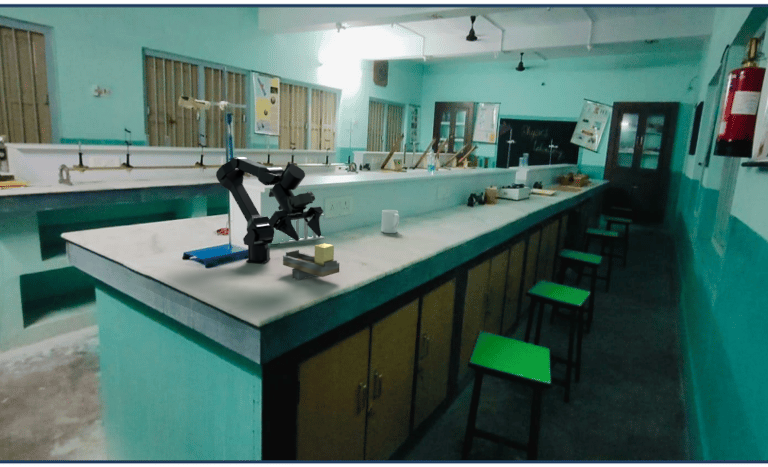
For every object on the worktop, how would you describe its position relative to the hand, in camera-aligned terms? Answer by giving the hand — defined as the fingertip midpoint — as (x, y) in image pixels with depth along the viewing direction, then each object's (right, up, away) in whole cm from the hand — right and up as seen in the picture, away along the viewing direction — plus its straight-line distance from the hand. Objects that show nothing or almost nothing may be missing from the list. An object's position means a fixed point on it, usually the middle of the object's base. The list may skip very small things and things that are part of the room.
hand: (309, 238), depth 139 cm
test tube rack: (-14, -2, +52) cm, 54 cm away
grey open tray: (0, -13, +2) cm, 13 cm away
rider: (+5, -9, -2) cm, 11 cm away
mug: (+27, +2, +78) cm, 83 cm away
